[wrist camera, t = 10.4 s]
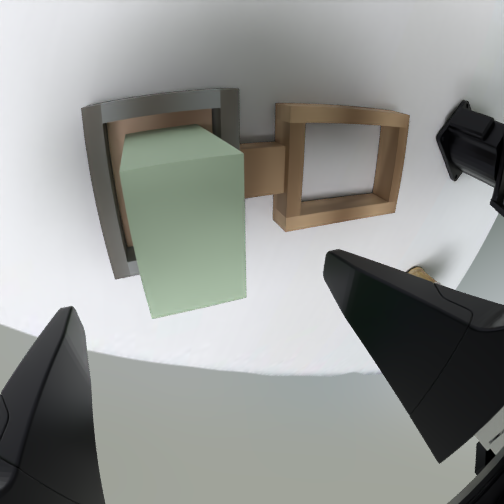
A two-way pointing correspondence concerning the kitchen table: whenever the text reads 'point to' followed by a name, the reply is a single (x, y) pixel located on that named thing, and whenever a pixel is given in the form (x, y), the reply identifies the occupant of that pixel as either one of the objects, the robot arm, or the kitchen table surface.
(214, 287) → the sage peg
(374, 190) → the joined double square frame
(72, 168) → the kitchen table surface
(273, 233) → the kitchen table surface
